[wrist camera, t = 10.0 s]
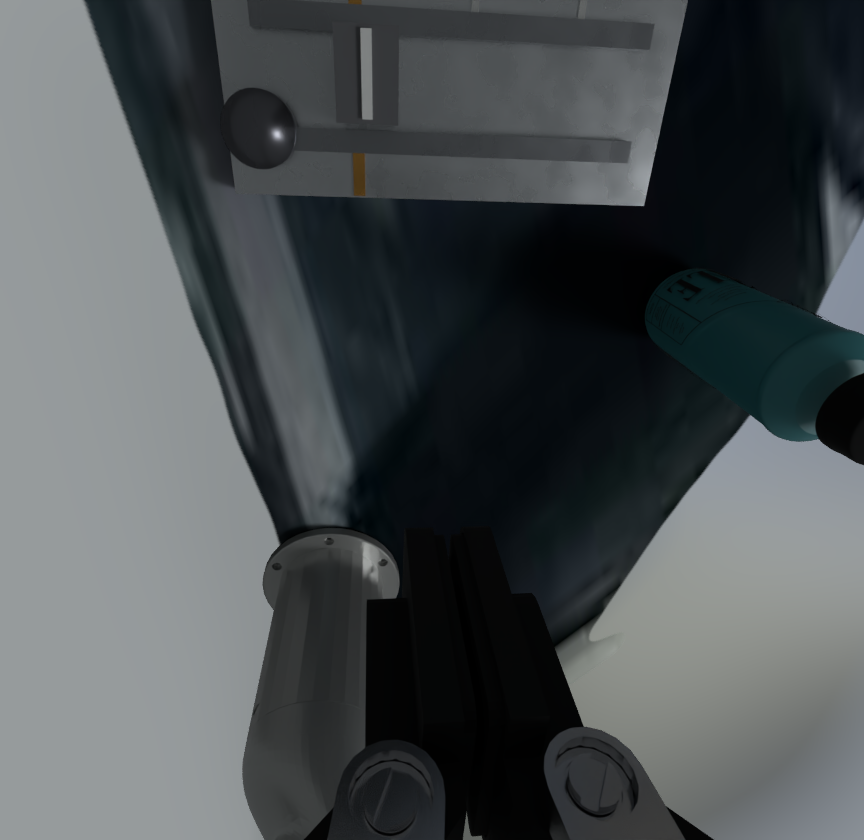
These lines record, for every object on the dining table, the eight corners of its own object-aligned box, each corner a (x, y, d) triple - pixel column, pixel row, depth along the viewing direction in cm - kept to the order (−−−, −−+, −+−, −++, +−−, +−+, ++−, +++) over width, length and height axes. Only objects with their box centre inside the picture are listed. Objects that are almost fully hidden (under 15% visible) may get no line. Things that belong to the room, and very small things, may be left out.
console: (631, 202, 37) (654, 208, 34) (242, 190, 34) (229, 196, 31) (675, -20, 31) (708, -35, 28) (213, -54, 28) (193, -76, 25)
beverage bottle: (659, 359, 43) (853, 519, 26) (615, 300, 40) (799, 435, 23) (731, 304, 41) (991, 435, 24) (690, 238, 38) (951, 333, 21)
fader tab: (394, 125, 31) (398, 125, 26) (342, 123, 31) (336, 122, 26) (394, 43, 30) (399, 24, 24) (340, 39, 29) (331, 20, 24)
